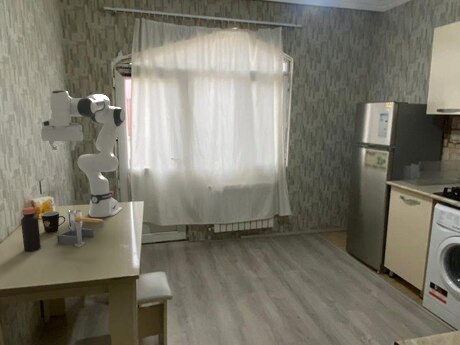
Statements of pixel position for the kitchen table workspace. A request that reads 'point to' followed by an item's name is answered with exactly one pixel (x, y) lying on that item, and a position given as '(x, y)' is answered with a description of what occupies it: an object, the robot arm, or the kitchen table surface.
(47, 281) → the kitchen table surface
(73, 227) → the beer glass
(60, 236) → the cradle
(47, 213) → the coffee mug
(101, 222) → the bar
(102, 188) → the robot arm
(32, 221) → the bottle
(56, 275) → the kitchen table surface
